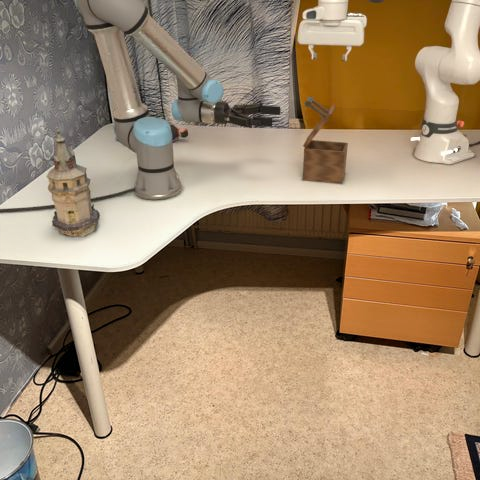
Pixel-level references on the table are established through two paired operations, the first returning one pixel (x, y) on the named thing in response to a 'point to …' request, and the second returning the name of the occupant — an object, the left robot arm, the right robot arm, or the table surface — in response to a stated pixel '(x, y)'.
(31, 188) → the table surface
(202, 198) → the table surface
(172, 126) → the toy
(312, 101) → the lid
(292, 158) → the table surface
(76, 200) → the miniature building
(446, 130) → the right robot arm
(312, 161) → the chest
